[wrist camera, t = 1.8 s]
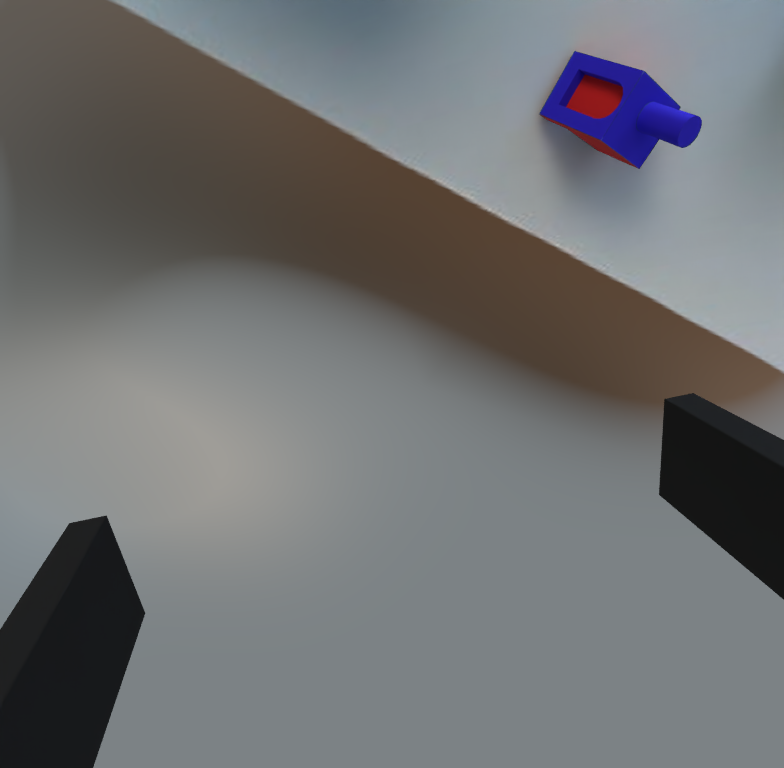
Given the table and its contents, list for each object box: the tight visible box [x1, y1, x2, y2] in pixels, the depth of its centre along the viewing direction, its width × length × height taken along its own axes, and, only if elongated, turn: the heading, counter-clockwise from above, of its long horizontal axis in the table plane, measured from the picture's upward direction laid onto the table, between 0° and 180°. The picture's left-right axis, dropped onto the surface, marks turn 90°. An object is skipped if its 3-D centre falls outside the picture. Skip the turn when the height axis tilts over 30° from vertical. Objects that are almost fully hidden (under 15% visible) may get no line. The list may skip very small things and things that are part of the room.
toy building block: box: [540, 51, 702, 169], centre depth 30 cm, size 4×4×8 cm
